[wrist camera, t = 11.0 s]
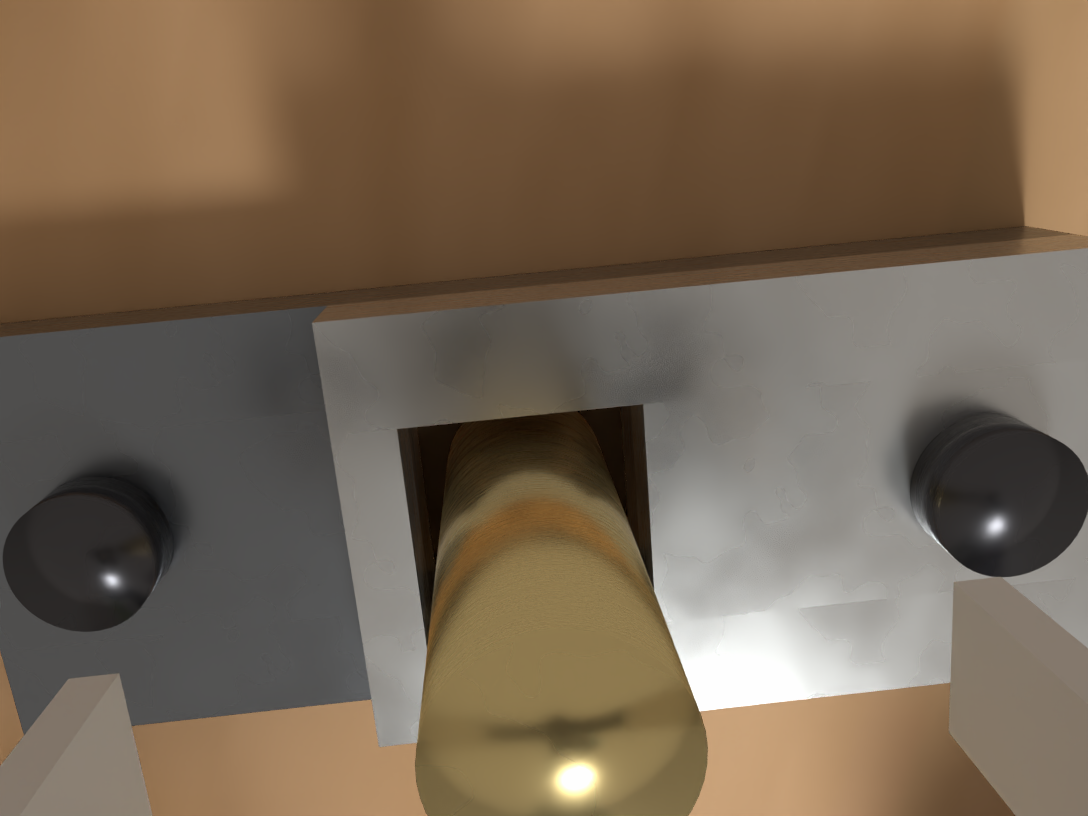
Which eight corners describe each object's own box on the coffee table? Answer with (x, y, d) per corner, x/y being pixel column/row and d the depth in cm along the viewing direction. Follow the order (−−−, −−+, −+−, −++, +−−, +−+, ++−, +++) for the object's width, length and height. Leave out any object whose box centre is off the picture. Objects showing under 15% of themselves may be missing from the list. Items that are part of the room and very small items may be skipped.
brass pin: (606, 529, 25) (713, 867, 13) (456, 546, 25) (434, 900, 13) (595, 385, 24) (701, 616, 12) (438, 401, 24) (396, 651, 12)
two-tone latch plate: (1004, 588, 26) (1133, 700, 21) (59, 691, 25) (-50, 835, 20) (1025, 226, 23) (1180, 251, 18) (-38, 327, 22) (-194, 384, 17)
